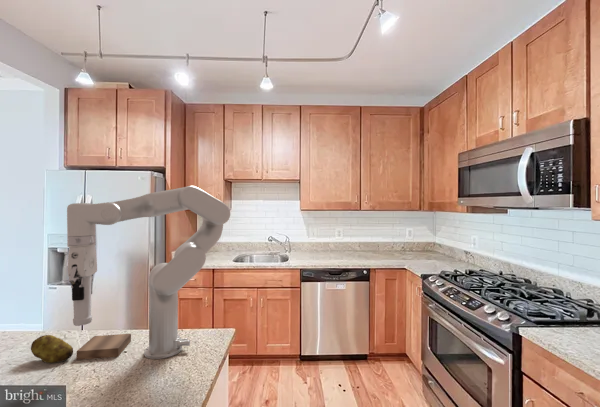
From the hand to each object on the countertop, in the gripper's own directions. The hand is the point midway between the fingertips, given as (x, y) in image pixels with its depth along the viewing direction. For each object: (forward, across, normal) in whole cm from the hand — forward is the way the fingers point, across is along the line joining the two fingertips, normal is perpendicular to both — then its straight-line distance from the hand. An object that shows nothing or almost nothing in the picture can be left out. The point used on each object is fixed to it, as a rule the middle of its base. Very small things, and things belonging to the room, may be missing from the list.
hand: (82, 296), depth 102 cm
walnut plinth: (+23, +13, -2) cm, 27 cm away
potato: (+23, +8, +13) cm, 28 cm away
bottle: (+9, 0, 0) cm, 9 cm away
